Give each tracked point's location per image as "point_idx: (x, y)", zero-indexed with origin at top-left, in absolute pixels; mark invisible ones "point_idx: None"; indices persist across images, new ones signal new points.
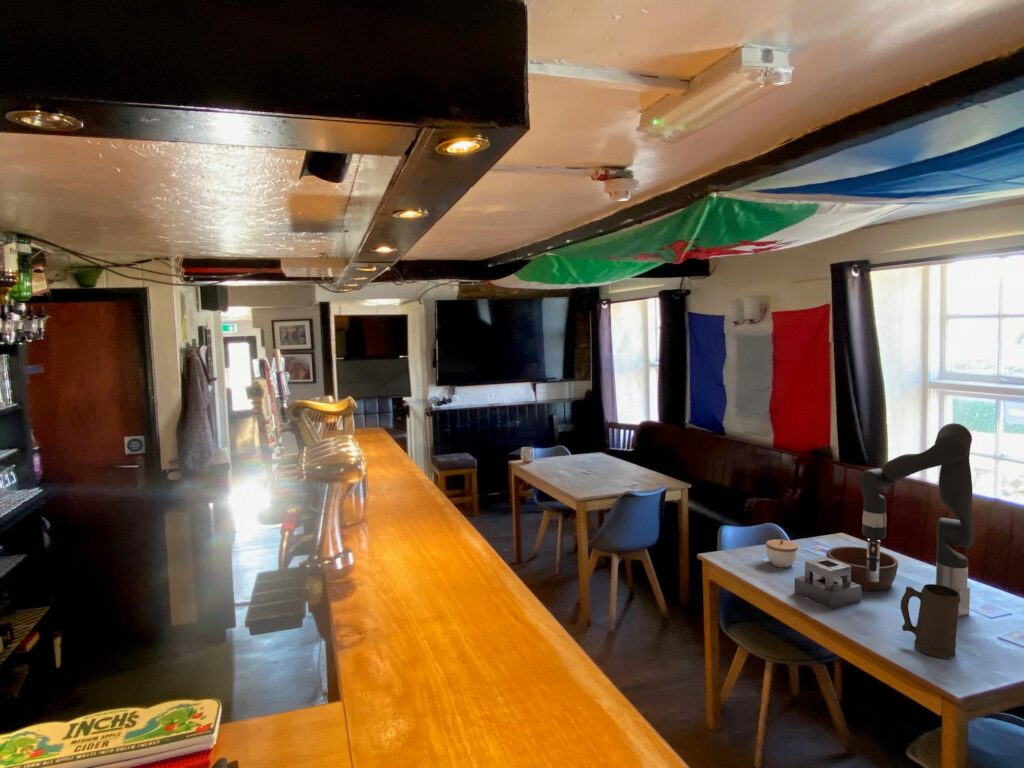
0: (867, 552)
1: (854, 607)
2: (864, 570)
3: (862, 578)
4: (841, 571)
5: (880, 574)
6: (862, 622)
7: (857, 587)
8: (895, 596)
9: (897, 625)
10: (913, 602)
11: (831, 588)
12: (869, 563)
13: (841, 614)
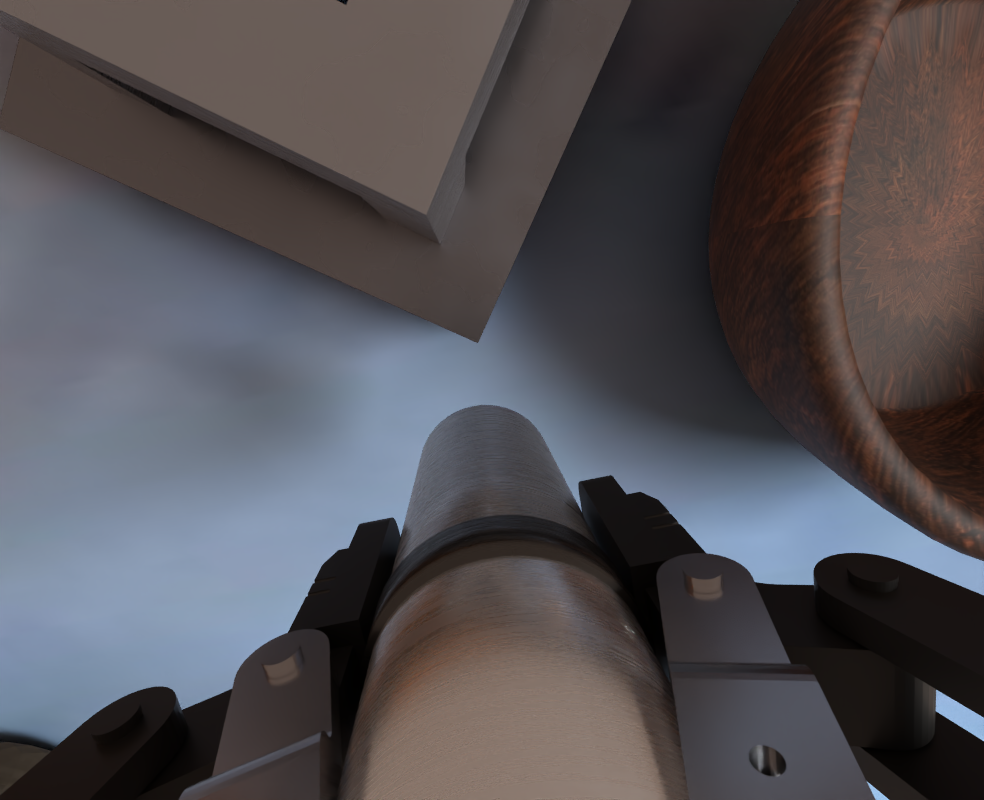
0: (411, 689)
1: (317, 317)
2: (779, 316)
3: (730, 292)
4: (198, 111)
5: (820, 452)
6: (82, 427)
7: (421, 316)
8: (720, 496)
9: (217, 604)
10: None
11: (128, 94)
12: (331, 589)
13: (103, 270)
